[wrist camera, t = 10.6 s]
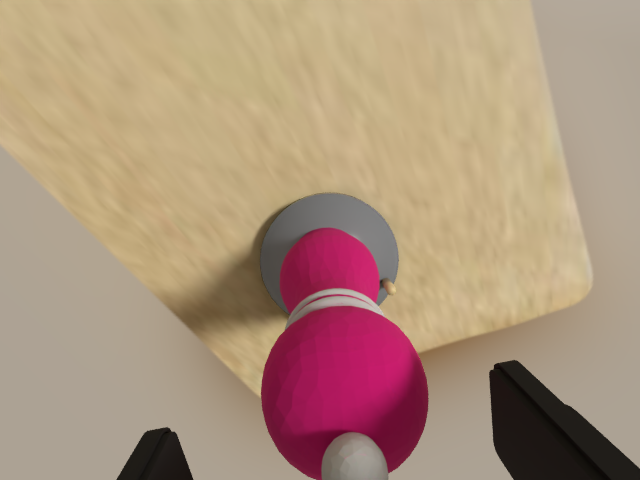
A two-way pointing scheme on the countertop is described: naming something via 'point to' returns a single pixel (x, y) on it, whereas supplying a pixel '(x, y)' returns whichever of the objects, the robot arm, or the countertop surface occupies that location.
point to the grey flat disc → (325, 214)
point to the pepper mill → (341, 367)
